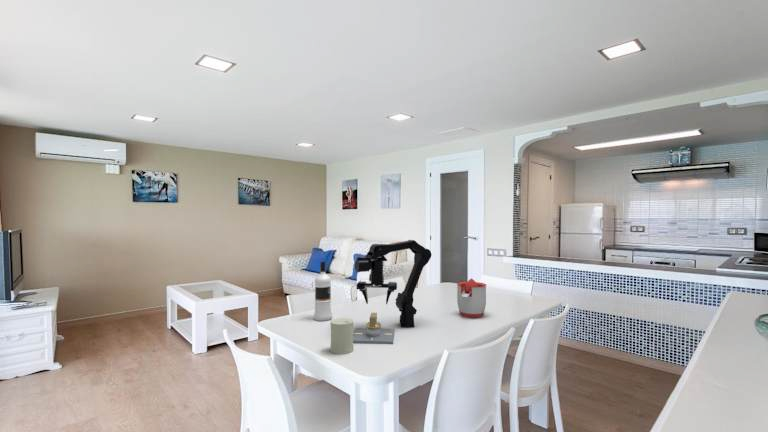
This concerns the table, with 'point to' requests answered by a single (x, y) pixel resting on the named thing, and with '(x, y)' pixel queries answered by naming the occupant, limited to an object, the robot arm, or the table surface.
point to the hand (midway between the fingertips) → (376, 303)
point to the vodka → (322, 295)
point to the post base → (373, 336)
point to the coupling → (373, 322)
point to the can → (341, 336)
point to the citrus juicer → (471, 298)
